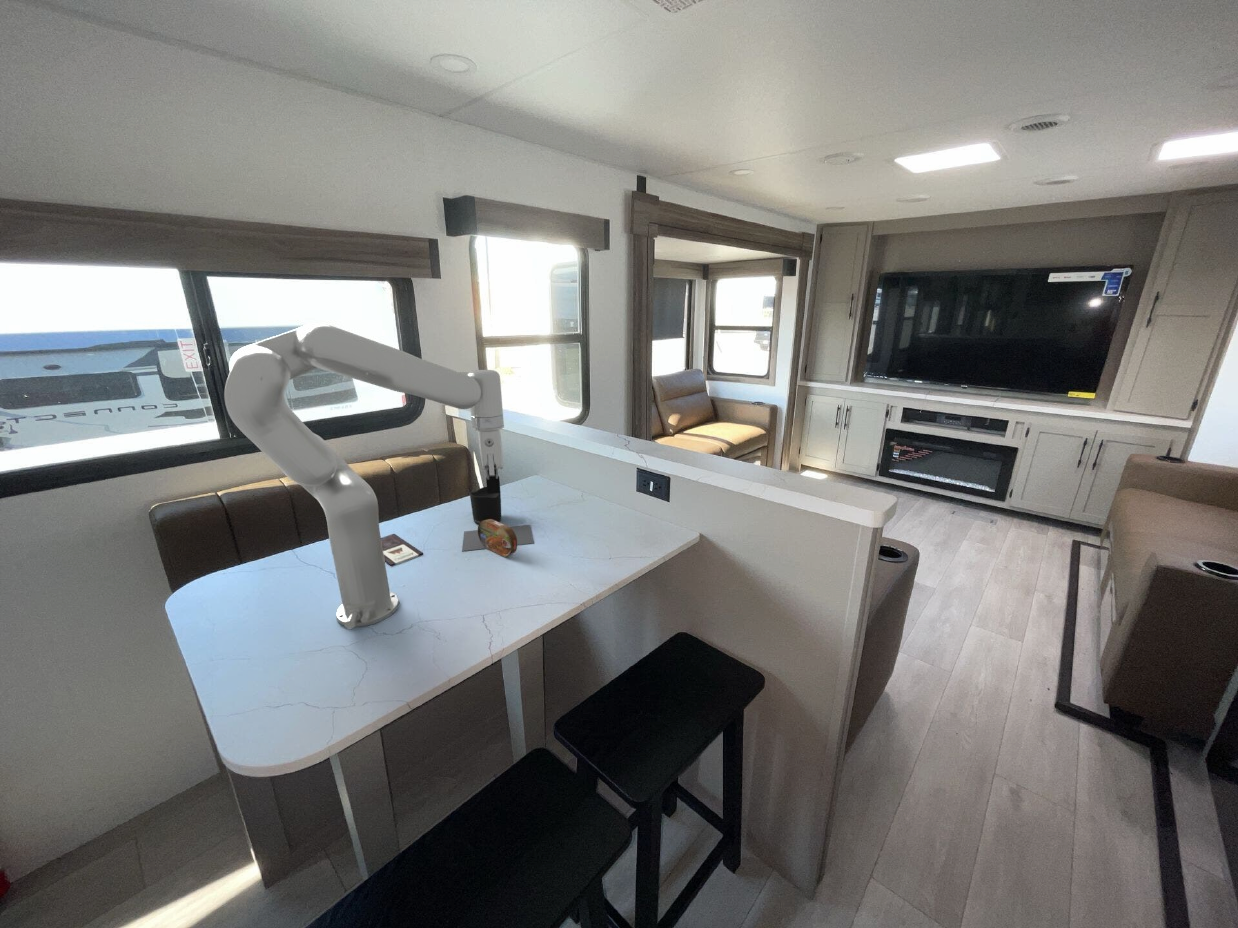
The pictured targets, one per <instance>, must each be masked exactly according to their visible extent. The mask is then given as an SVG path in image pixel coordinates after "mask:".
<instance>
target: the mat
mask: <svg viewBox="0 0 1238 928" xmlns="http://www.w3.org/2000/svg"><path fill="white" fill-rule="evenodd" d="M509 527H510V528H512V530H513V531H514V532H515V534H516V537H517V546H523V545H532V543H535V542H534V538H533V532H532V526H531V524H525V525H524V524H523V525H513V526H509ZM462 538H463V539H462V549H461V552H469V551H471V552H472V551H477V550H478V551H479V550H488V549H487V548H485V547H484V546H483V545H482V543H481V541H480V539H479V536H478V529H475V530H465V531H463V537H462Z"/></svg>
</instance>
